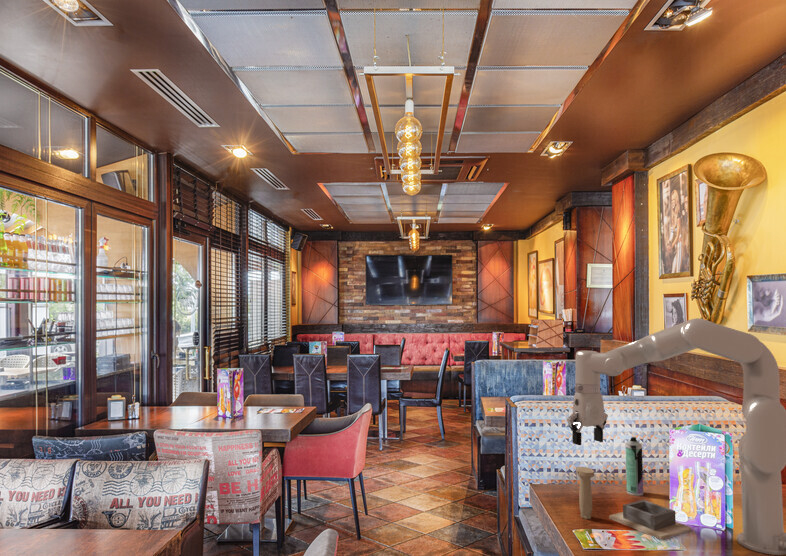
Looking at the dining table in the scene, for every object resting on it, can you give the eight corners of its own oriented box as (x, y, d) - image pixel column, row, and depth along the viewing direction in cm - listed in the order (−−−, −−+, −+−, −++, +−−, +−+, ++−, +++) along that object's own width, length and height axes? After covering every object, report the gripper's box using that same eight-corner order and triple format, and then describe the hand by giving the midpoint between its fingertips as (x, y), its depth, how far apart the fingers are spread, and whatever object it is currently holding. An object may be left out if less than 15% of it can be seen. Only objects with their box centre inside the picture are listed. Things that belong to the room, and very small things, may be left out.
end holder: (691, 530, 161) (690, 513, 161) (661, 539, 154) (660, 522, 154) (638, 510, 176) (638, 495, 177) (609, 518, 170) (609, 502, 170)
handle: (584, 522, 167) (583, 473, 168) (573, 514, 173) (573, 467, 174) (598, 521, 168) (597, 472, 169) (587, 513, 174) (586, 466, 175)
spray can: (646, 495, 191) (644, 439, 192) (630, 495, 191) (629, 438, 192) (639, 490, 196) (637, 435, 198) (624, 490, 196) (623, 435, 198)
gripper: (577, 392, 166) (577, 448, 165) (615, 389, 174) (616, 442, 173) (559, 388, 172) (559, 442, 171) (597, 386, 180) (597, 437, 179)
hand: (587, 442), depth 172 cm, fingers open, 9 cm apart
